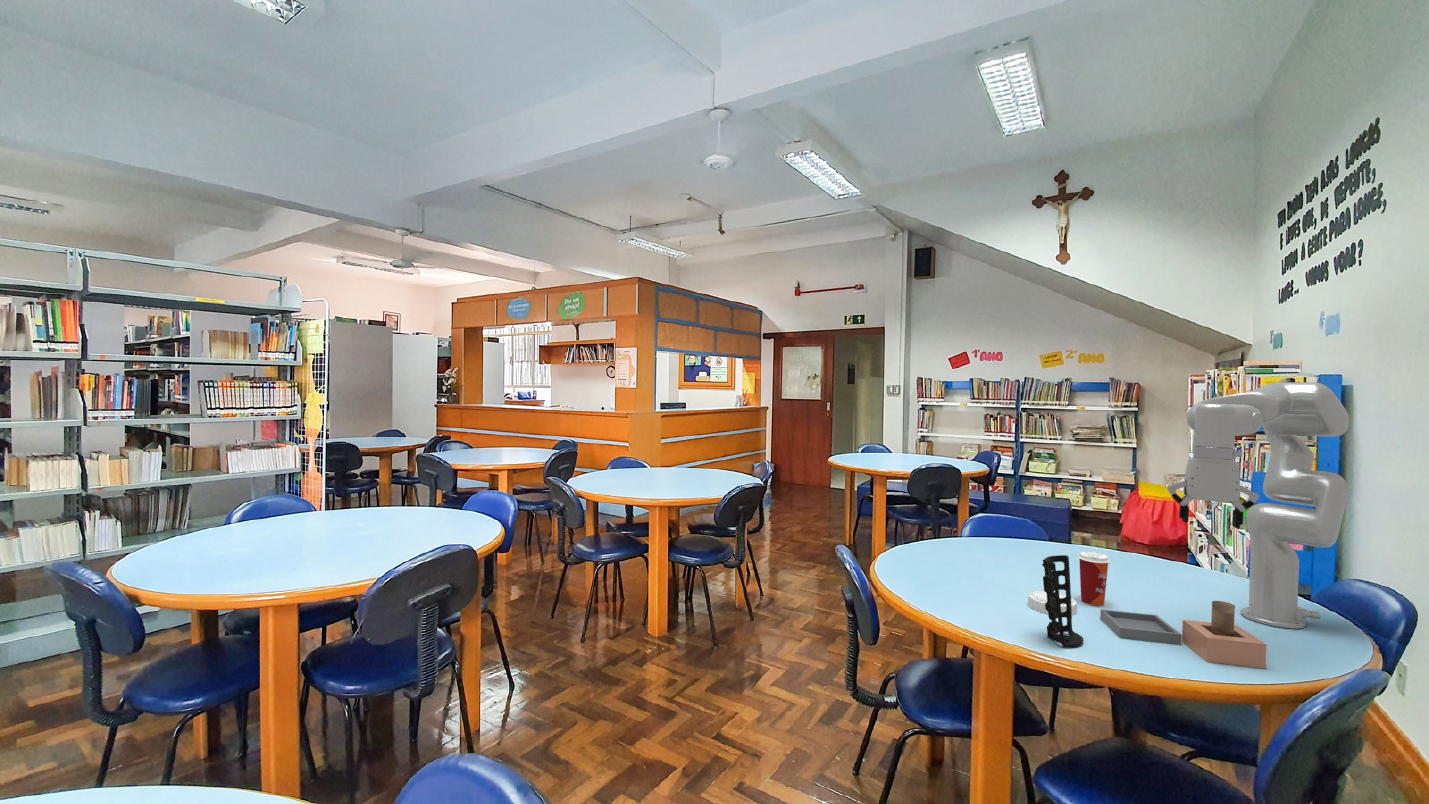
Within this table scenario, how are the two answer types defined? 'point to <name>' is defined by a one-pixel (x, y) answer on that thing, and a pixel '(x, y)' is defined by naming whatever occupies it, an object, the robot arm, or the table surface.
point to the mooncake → (1040, 598)
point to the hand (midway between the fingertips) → (1210, 524)
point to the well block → (1224, 645)
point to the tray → (1140, 627)
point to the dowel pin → (1222, 618)
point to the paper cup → (1093, 577)
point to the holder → (1059, 602)
